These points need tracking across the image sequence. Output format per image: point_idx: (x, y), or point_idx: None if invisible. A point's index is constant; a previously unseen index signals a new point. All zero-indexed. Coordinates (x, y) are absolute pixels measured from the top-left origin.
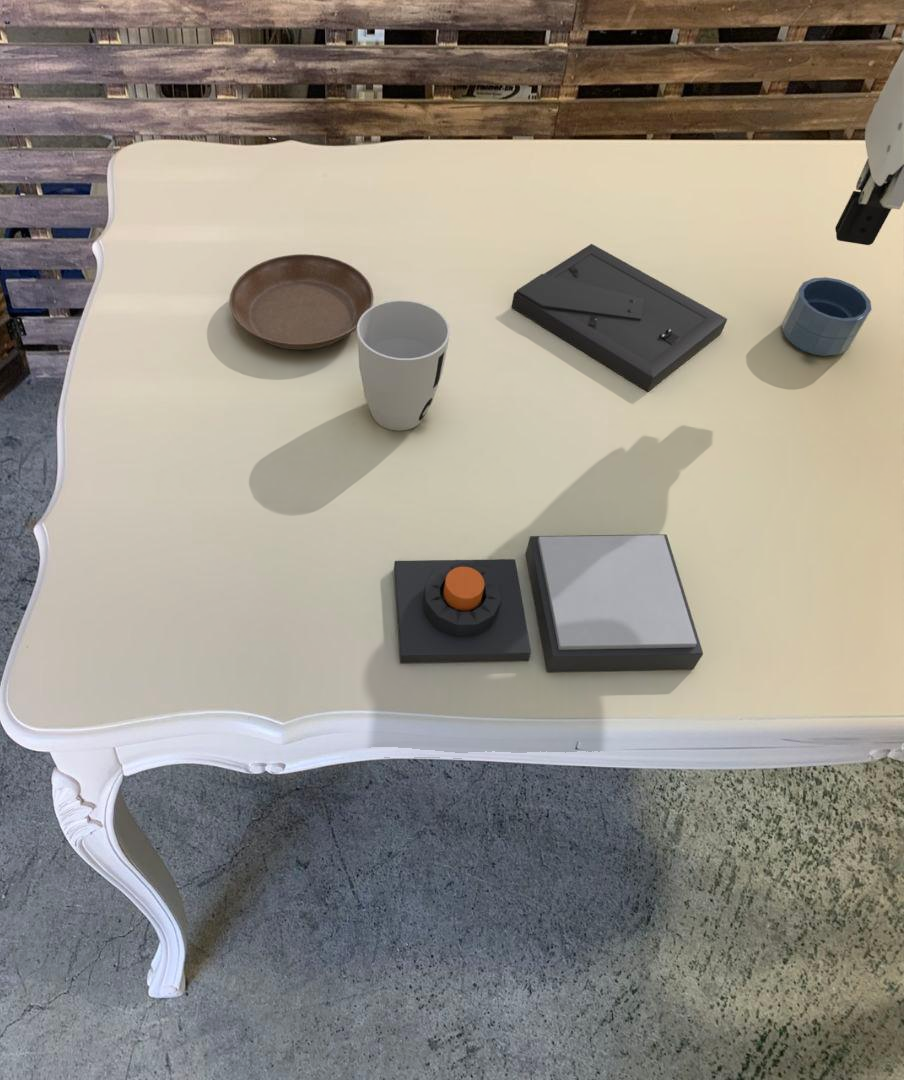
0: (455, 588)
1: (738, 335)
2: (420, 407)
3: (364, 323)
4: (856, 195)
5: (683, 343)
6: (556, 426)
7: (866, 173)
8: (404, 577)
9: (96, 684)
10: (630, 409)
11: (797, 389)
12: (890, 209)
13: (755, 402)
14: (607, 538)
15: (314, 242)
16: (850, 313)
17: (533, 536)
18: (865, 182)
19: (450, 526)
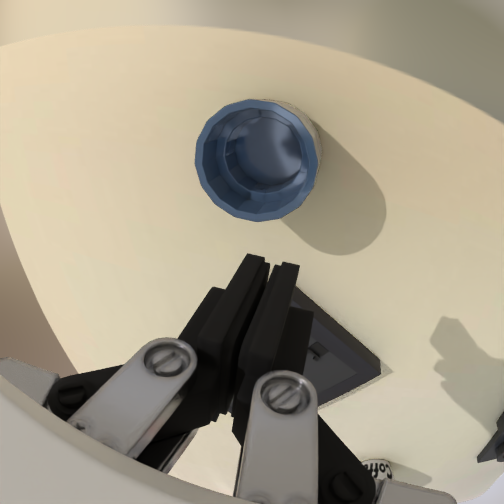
0: None
1: (279, 251)
2: (393, 479)
3: None
4: (217, 414)
5: (326, 340)
6: (407, 414)
7: (174, 463)
8: (487, 459)
9: (475, 492)
10: (399, 373)
11: (386, 203)
12: (275, 346)
13: (407, 263)
14: None
15: (216, 467)
16: (247, 113)
17: (500, 435)
18: (189, 437)
19: (464, 446)
